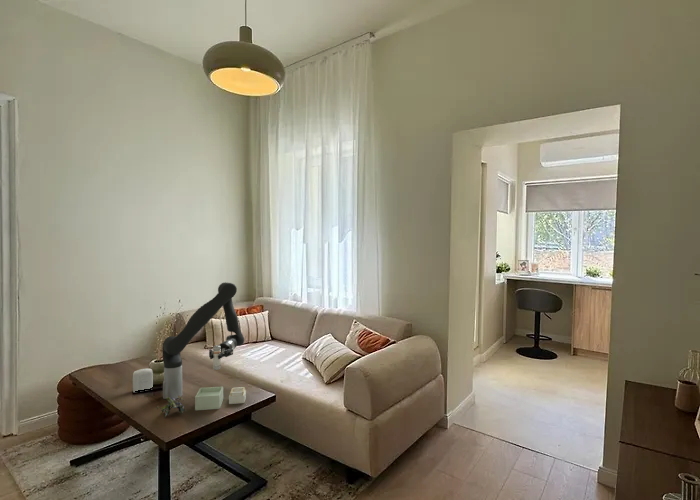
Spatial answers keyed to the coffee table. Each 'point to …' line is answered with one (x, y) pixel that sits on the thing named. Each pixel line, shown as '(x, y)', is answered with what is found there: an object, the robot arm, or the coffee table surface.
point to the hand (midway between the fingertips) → (214, 357)
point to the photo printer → (142, 379)
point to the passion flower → (173, 403)
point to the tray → (209, 398)
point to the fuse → (216, 357)
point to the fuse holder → (237, 395)
